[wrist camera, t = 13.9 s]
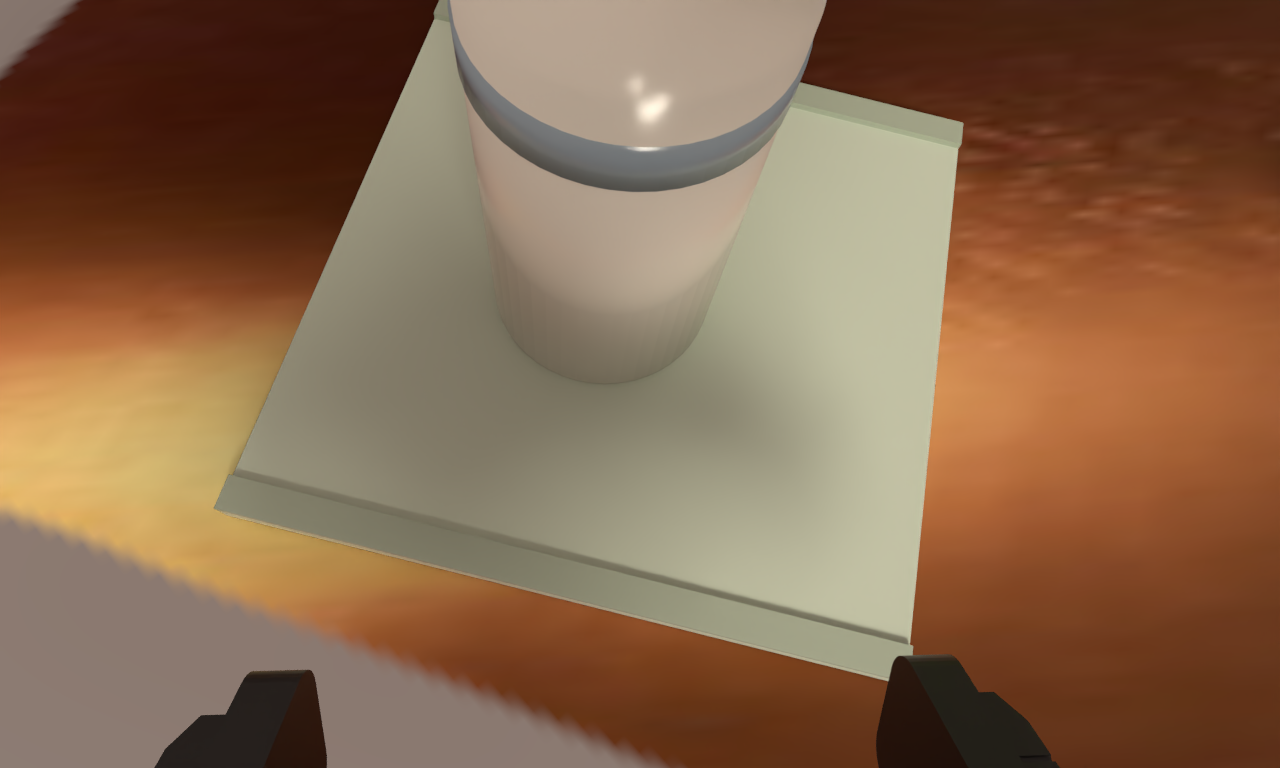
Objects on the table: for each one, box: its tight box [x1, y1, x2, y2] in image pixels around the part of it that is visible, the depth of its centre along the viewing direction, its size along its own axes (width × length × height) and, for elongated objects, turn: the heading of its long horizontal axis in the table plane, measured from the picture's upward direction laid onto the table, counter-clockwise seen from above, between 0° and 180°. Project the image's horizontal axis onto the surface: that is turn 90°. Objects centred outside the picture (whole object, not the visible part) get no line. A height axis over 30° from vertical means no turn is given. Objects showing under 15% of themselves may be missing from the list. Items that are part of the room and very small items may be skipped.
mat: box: [214, 0, 963, 681], centre depth 21 cm, size 16×16×1 cm
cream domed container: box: [447, 0, 827, 384], centre depth 16 cm, size 6×6×10 cm
